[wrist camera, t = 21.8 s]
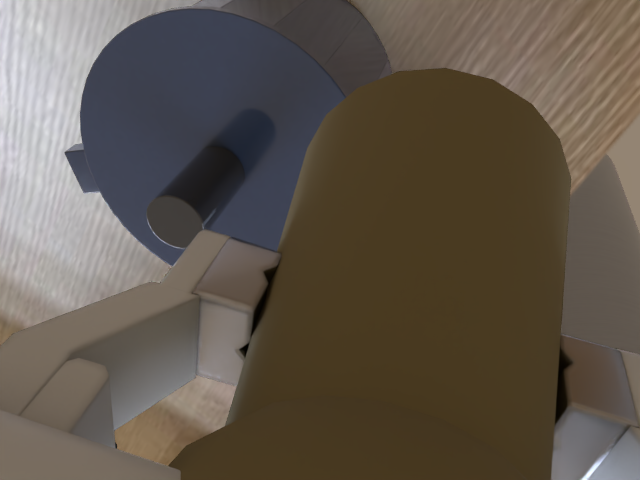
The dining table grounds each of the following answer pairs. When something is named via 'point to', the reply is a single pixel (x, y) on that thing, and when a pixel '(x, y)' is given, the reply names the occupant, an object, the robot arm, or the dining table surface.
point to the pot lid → (202, 125)
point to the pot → (312, 31)
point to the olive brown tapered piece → (409, 297)
